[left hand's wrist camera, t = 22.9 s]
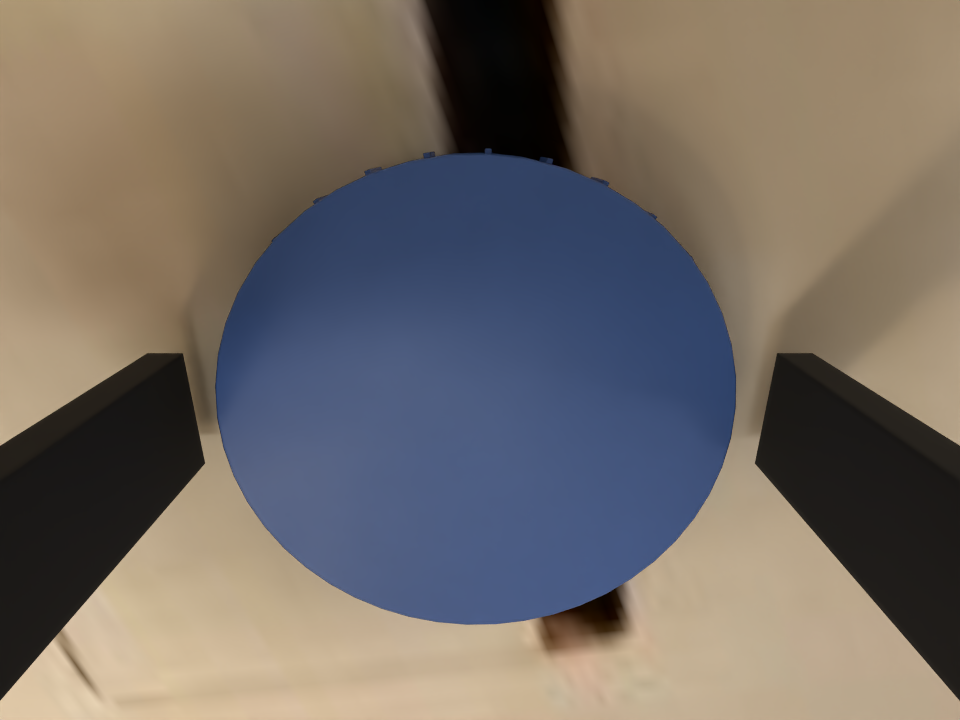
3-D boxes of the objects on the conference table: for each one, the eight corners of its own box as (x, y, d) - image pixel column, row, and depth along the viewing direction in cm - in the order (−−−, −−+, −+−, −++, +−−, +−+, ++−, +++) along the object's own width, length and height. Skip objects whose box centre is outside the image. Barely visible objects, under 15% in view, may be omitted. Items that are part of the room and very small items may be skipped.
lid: (149, 298, 12) (96, 321, 11) (596, 43, 11) (619, 24, 9) (395, 625, 16) (384, 684, 14) (765, 474, 14) (805, 520, 12)
